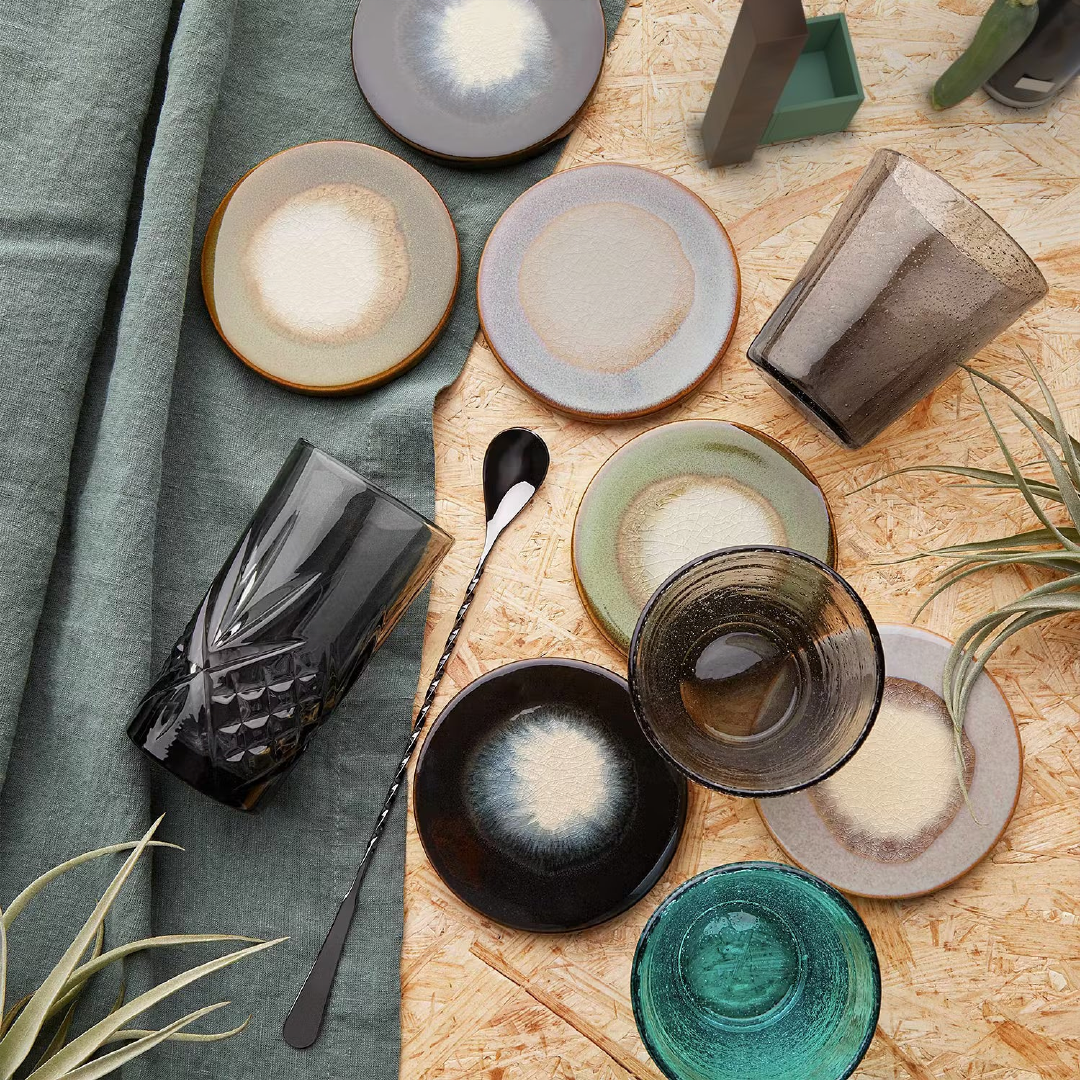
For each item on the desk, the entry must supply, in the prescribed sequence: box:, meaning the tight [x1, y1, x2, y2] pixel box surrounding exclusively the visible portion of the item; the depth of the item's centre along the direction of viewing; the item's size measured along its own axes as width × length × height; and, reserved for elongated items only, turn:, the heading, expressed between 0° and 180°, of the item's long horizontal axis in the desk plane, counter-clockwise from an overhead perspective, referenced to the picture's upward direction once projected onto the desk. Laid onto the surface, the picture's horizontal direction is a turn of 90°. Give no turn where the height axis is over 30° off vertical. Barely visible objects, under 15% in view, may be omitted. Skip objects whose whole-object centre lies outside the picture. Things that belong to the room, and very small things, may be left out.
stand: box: [699, 0, 809, 170], centre depth 85 cm, size 4×4×20 cm
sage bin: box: [758, 11, 866, 146], centre depth 93 cm, size 9×9×6 cm
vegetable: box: [929, 0, 1039, 110], centre depth 86 cm, size 4×4×20 cm
